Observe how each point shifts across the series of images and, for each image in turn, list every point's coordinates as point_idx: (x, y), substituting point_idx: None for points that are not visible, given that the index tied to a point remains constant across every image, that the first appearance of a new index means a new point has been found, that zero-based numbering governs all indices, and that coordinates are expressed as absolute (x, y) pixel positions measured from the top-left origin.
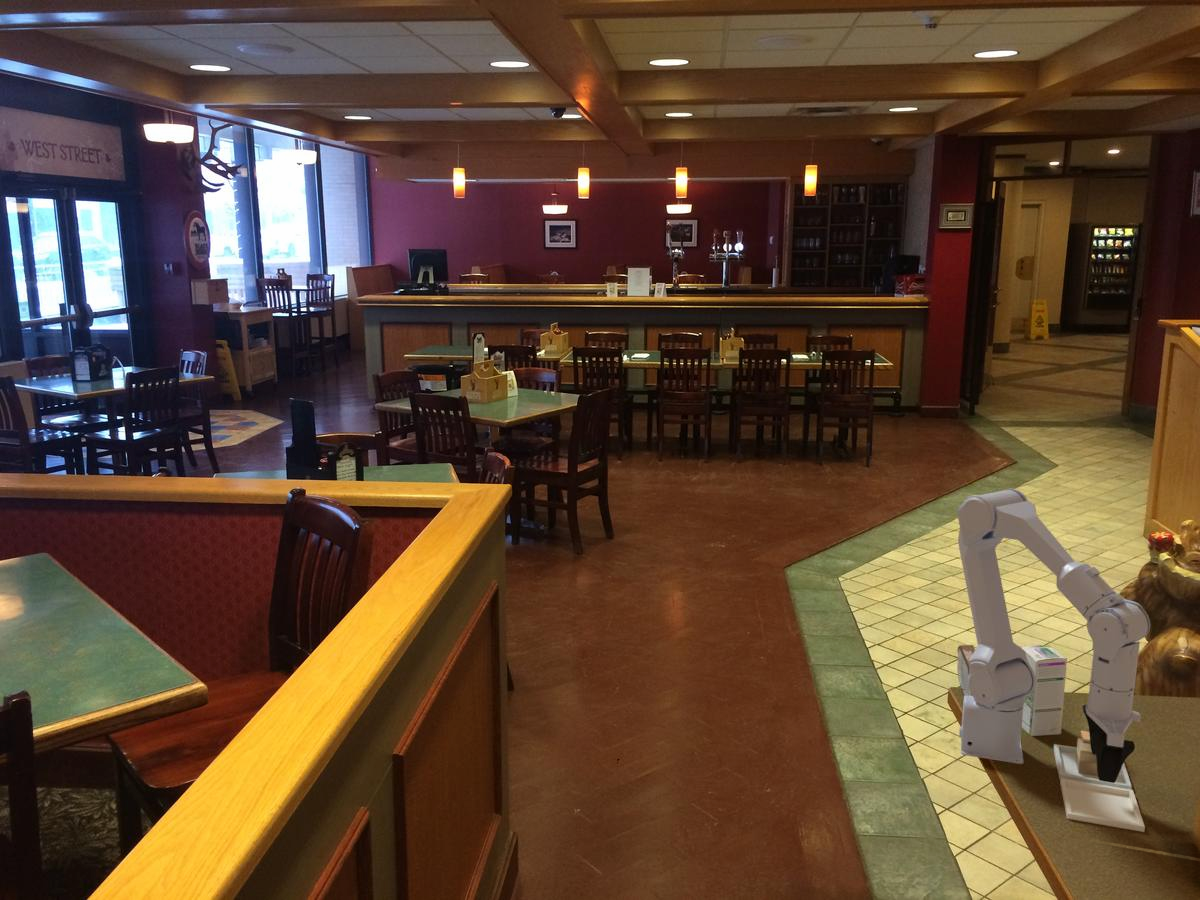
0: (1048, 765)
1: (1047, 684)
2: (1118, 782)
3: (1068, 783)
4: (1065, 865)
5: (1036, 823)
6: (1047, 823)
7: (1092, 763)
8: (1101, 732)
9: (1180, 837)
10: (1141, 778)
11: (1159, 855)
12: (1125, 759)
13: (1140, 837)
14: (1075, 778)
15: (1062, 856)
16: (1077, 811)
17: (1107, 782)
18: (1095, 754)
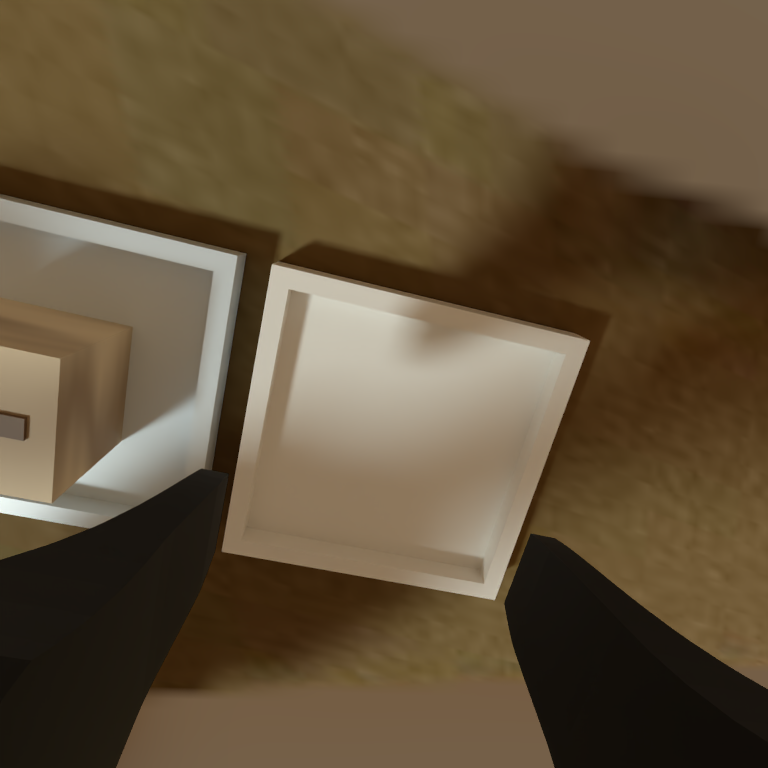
0: (67, 529)
1: None
2: (211, 310)
3: (246, 522)
4: (730, 647)
5: (504, 668)
6: (503, 638)
7: (95, 412)
8: (144, 648)
9: (598, 177)
10: (75, 128)
11: (712, 330)
12: (751, 681)
13: (593, 354)
14: None
15: None
16: (440, 537)
17: (220, 363)
18: (216, 536)
